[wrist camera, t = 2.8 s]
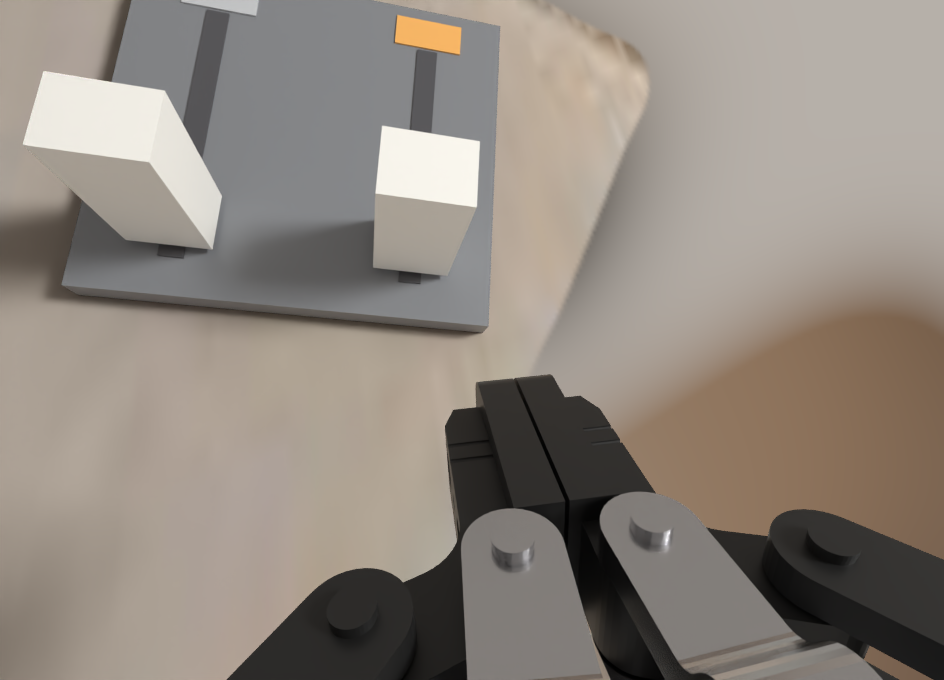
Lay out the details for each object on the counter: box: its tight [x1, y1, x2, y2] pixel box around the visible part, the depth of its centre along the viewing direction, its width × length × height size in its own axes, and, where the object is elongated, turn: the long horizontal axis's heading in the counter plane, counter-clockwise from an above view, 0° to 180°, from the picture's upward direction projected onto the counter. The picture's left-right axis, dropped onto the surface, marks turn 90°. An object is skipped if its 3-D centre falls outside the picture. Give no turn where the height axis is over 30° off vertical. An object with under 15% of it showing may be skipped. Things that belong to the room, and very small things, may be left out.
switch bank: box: [61, 0, 500, 333], centre depth 30 cm, size 21×20×2 cm
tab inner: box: [23, 71, 222, 250], centre depth 22 cm, size 4×3×8 cm
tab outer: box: [373, 126, 480, 276], centre depth 25 cm, size 4×3×8 cm
